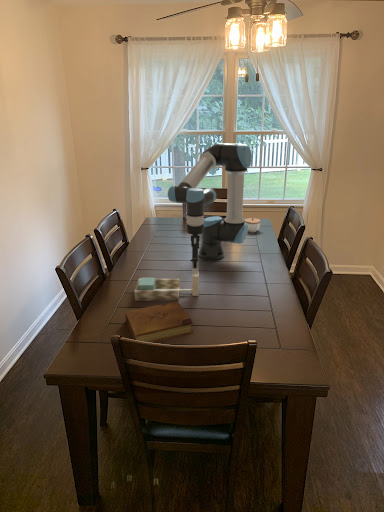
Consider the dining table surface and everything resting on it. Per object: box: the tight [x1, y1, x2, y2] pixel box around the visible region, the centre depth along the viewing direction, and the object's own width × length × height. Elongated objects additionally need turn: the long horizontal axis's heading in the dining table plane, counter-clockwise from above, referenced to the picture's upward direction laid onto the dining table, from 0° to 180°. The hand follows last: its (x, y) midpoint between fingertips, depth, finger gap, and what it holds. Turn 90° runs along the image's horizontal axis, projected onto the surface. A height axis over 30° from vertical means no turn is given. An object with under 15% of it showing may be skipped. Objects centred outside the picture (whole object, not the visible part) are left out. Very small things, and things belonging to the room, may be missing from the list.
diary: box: [124, 300, 194, 343], centre depth 152 cm, size 23×19×6 cm
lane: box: [134, 278, 181, 302], centre depth 178 cm, size 20×13×5 cm, turn 89°
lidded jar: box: [244, 217, 261, 233], centre depth 262 cm, size 11×11×9 cm
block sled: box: [138, 271, 200, 297], centre depth 177 cm, size 28×8×10 cm, turn 89°
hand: (195, 267), depth 173 cm, fingers open, 13 cm apart
